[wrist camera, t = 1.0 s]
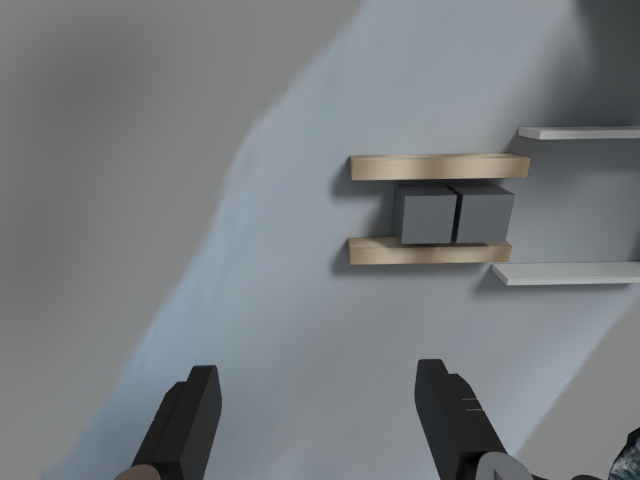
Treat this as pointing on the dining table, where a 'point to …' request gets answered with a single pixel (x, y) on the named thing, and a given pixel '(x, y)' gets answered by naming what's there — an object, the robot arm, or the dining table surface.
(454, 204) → the dark gray rectangular block
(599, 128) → the tray
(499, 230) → the dark gray cube
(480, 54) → the dining table surface
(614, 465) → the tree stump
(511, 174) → the slotted rail
